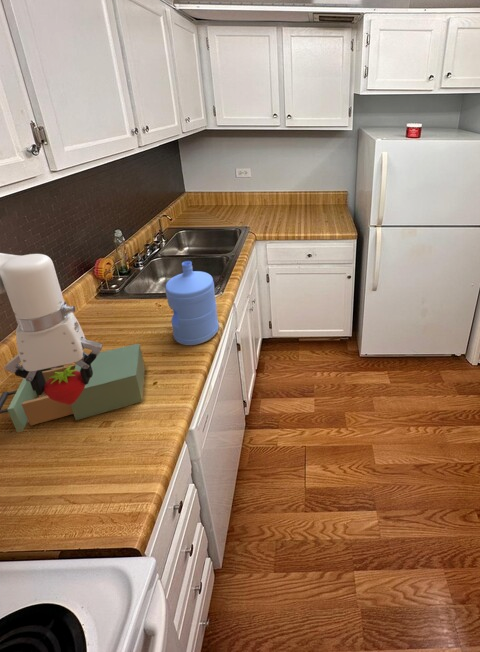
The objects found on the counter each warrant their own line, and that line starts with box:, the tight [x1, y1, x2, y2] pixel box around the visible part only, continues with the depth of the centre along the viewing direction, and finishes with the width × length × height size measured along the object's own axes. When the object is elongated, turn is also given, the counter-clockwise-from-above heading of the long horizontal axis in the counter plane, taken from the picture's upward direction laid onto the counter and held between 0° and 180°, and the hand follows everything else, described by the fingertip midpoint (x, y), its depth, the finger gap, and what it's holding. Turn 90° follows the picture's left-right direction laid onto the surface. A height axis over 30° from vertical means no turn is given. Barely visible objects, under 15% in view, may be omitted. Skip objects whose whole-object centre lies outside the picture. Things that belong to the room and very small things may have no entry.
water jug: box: [165, 260, 220, 346], centre depth 115 cm, size 16×16×28 cm
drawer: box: [0, 363, 76, 433], centre depth 88 cm, size 19×12×8 cm, turn 113°
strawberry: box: [44, 364, 85, 405], centre depth 71 cm, size 6×8×10 cm
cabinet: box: [71, 342, 146, 421], centre depth 93 cm, size 16×14×10 cm
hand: (65, 384), depth 71 cm, fingers closed on strawberry, 7 cm apart
